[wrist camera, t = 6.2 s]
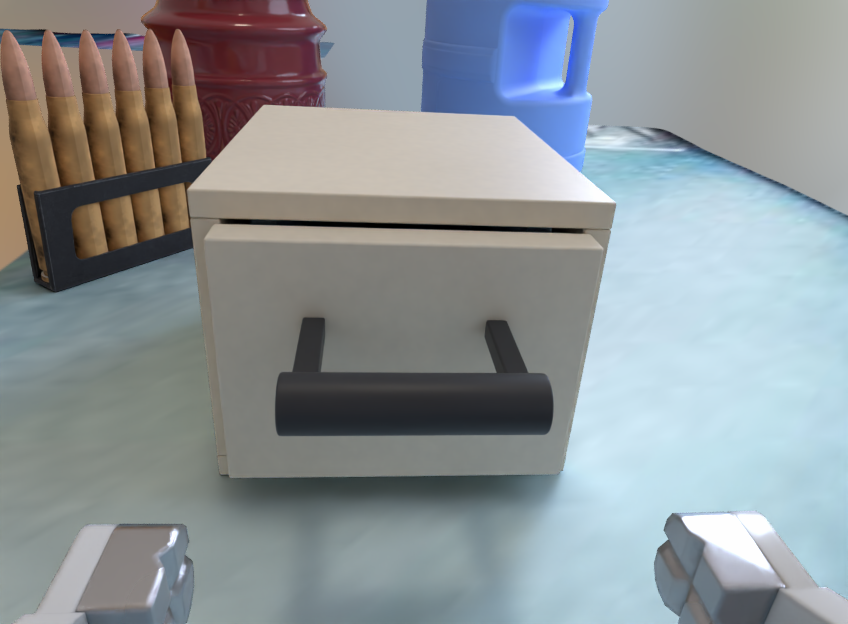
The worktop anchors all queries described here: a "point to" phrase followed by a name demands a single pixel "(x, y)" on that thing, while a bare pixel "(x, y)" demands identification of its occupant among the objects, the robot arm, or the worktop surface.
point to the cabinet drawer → (397, 346)
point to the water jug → (513, 64)
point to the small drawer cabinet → (388, 185)
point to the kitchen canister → (243, 58)
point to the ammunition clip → (103, 157)
